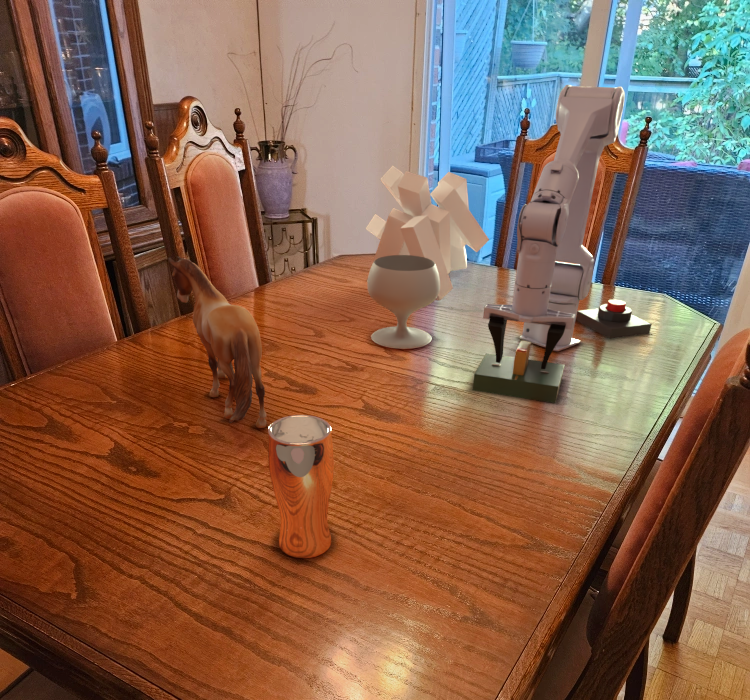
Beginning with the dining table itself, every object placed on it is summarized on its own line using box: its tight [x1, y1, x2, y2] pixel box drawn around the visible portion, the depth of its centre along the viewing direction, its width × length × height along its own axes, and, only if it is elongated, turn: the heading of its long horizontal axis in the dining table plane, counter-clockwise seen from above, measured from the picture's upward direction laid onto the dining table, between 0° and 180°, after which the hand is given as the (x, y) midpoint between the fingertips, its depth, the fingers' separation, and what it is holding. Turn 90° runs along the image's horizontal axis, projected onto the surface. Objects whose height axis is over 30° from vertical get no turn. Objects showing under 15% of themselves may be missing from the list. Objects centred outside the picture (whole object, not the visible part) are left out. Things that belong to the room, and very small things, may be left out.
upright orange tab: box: [513, 340, 532, 375], centre depth 113 cm, size 6×2×4 cm, turn 161°
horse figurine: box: [167, 256, 267, 429], centre depth 101 cm, size 31×8×21 cm, turn 26°
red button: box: [606, 299, 627, 312], centre depth 139 cm, size 4×4×2 cm
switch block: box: [575, 303, 652, 340], centre depth 141 cm, size 12×10×4 cm
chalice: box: [366, 255, 440, 350], centre depth 129 cm, size 14×14×15 cm
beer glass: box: [267, 414, 335, 559], centre depth 74 cm, size 7×7×15 cm
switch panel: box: [472, 353, 565, 404], centre depth 115 cm, size 14×10×3 cm
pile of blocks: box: [365, 165, 490, 301], centre depth 159 cm, size 35×30×35 cm
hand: (521, 363), depth 114 cm, fingers open, 7 cm apart
